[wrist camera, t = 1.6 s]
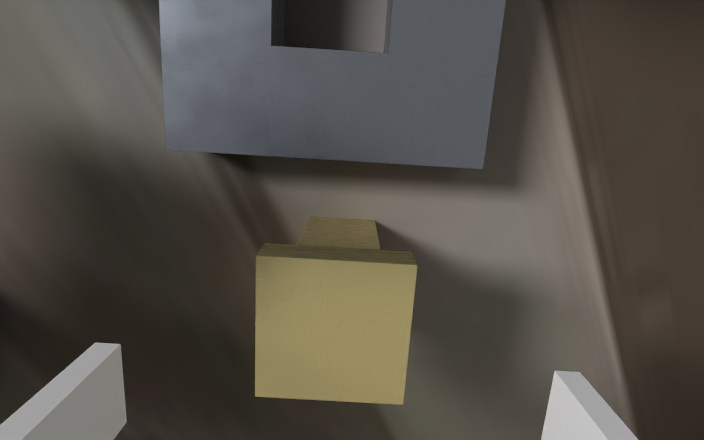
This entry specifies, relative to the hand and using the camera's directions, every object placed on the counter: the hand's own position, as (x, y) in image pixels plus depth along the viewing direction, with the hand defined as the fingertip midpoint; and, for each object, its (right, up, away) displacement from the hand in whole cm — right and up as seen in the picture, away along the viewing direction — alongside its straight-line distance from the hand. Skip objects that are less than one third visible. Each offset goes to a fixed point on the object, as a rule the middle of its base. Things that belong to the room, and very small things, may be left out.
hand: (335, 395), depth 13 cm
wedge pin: (0, +4, +14) cm, 14 cm away
